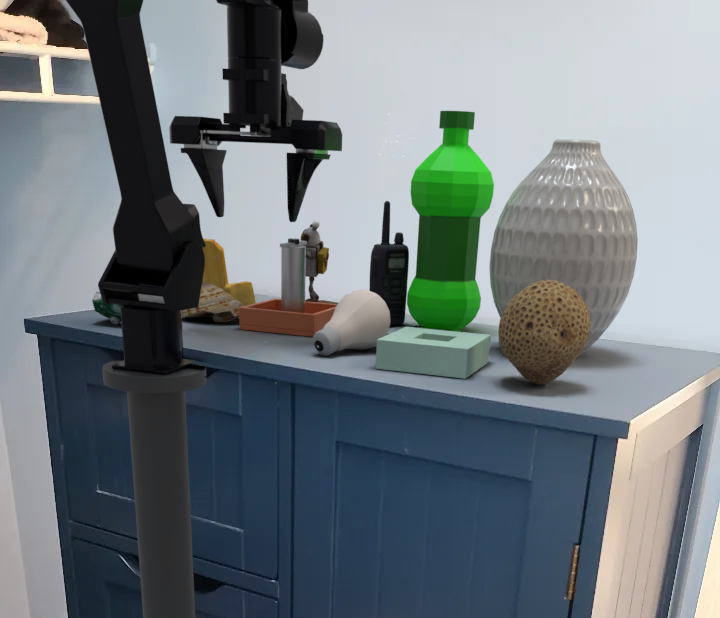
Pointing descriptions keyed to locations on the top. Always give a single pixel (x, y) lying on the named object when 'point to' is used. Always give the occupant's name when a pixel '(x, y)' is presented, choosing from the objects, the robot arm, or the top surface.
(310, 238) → the robot figurine
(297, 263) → the silver cylinder with crossbar
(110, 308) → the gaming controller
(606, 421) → the top surface
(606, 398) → the top surface
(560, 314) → the natural sponge
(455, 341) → the green square holed block
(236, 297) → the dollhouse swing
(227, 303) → the seashell
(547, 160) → the vase
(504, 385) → the top surface
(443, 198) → the plastic bottle
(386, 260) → the two-way radio
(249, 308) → the dish
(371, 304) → the light bulb
